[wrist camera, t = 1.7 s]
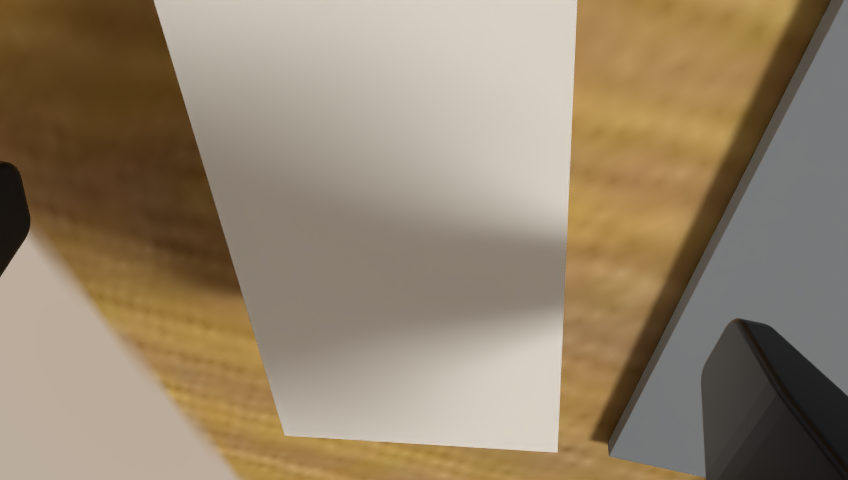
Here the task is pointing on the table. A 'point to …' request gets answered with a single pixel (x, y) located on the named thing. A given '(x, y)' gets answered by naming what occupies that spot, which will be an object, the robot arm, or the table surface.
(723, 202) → the table surface
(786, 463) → the robot arm
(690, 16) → the table surface
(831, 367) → the mat
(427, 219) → the block
